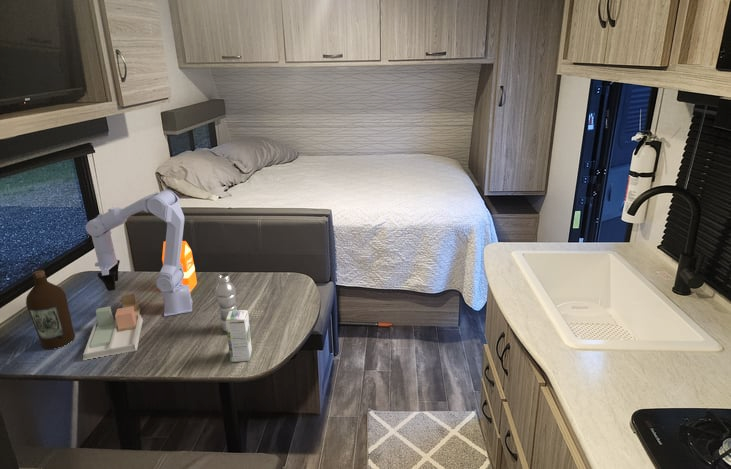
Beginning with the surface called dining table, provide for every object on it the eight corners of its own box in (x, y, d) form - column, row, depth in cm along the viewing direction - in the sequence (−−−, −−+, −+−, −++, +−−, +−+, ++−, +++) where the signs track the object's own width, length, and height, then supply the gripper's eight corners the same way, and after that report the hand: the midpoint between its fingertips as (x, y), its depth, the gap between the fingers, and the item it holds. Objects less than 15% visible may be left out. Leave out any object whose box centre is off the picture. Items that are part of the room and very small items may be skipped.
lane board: (95, 327, 162) (93, 322, 161) (142, 319, 167) (141, 314, 166) (83, 360, 144) (81, 354, 144) (136, 350, 149) (135, 344, 148)
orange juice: (190, 292, 185) (182, 244, 178) (168, 292, 186) (158, 245, 178) (197, 283, 193) (189, 237, 186) (175, 283, 193) (167, 237, 186)
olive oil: (46, 335, 158) (25, 267, 150) (81, 330, 161) (62, 263, 152) (34, 353, 149) (11, 282, 140) (72, 347, 151) (51, 277, 143)
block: (136, 318, 164) (133, 306, 162) (134, 326, 159) (131, 313, 157) (120, 321, 162) (117, 308, 160) (118, 329, 158) (115, 315, 156)
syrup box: (233, 351, 147) (227, 310, 142) (253, 350, 148) (247, 309, 142) (230, 362, 142) (224, 320, 137) (250, 361, 142) (244, 319, 137)
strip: (98, 325, 162) (94, 309, 160) (116, 322, 164) (112, 306, 161) (90, 347, 149) (86, 330, 147) (110, 344, 151) (106, 326, 149)
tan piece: (123, 311, 170) (119, 295, 168) (140, 309, 172) (136, 293, 170) (117, 331, 158) (113, 314, 156) (136, 328, 160) (132, 311, 157)
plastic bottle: (245, 325, 161) (238, 272, 154) (233, 336, 155) (225, 281, 148) (228, 322, 163) (221, 270, 156) (217, 333, 157) (208, 278, 150)
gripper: (95, 244, 171) (104, 278, 175) (87, 260, 158) (97, 296, 163) (117, 242, 173) (125, 275, 178) (111, 256, 160) (119, 292, 165)
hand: (113, 285), depth 170 cm, fingers open, 7 cm apart
